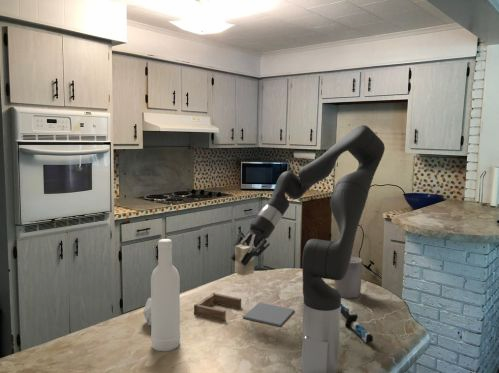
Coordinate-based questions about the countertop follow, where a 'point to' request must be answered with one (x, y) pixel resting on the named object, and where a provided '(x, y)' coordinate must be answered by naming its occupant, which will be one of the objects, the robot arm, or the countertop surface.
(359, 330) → the knife
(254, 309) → the pad
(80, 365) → the countertop surface
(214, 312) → the stall
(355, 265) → the pillar candle
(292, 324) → the countertop surface
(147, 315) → the die
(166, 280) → the bottle
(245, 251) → the ash block
